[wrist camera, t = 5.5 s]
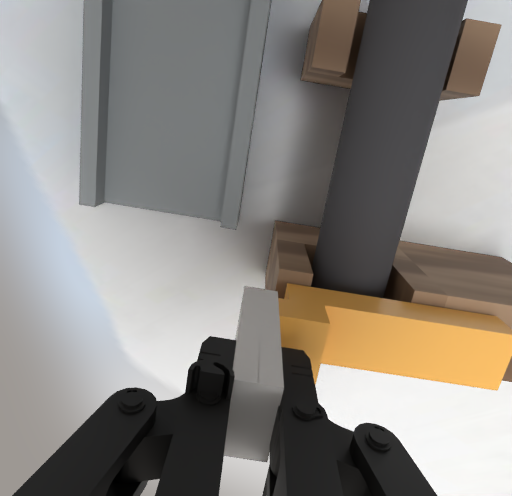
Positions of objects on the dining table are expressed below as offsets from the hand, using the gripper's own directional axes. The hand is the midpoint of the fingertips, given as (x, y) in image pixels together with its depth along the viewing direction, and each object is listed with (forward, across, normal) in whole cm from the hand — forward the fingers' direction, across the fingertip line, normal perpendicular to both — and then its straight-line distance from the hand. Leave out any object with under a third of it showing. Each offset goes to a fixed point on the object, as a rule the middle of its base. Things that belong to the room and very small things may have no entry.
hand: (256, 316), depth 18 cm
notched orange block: (+1, +6, 0) cm, 6 cm away
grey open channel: (+11, -7, +12) cm, 17 cm away
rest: (+11, +5, +12) cm, 17 cm away
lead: (+6, +5, +6) cm, 10 cm away
